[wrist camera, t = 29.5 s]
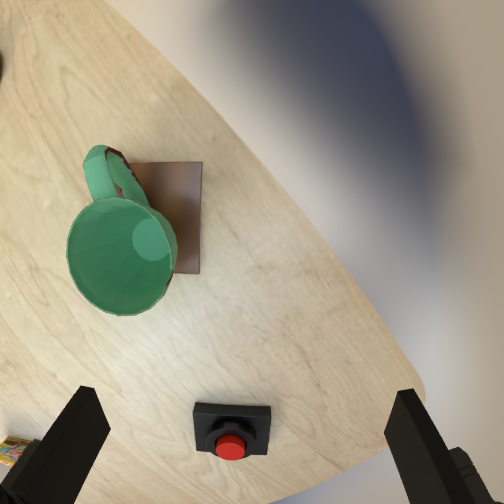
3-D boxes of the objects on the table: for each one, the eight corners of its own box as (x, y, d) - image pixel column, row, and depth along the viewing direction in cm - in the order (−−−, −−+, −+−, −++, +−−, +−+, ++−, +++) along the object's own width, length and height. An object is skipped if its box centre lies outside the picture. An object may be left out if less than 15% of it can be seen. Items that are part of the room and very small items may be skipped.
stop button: (245, 435, 34) (245, 444, 33) (244, 452, 35) (244, 461, 33) (216, 433, 34) (215, 442, 33) (217, 450, 35) (216, 459, 33)
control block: (270, 406, 37) (272, 425, 34) (266, 444, 39) (267, 464, 35) (195, 402, 37) (190, 420, 33) (198, 441, 39) (194, 459, 35)
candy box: (50, 443, 41) (32, 469, 33) (56, 450, 41) (39, 476, 33) (6, 435, 42) (-11, 455, 34) (11, 442, 42) (-5, 462, 34)
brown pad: (202, 162, 32) (201, 161, 31) (199, 273, 34) (198, 274, 33) (101, 165, 32) (99, 164, 31) (102, 267, 34) (100, 268, 33)
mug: (207, 270, 33) (189, 302, 24) (129, 291, 34) (89, 325, 24) (169, 139, 31) (135, 120, 21) (92, 170, 31) (40, 166, 21)
